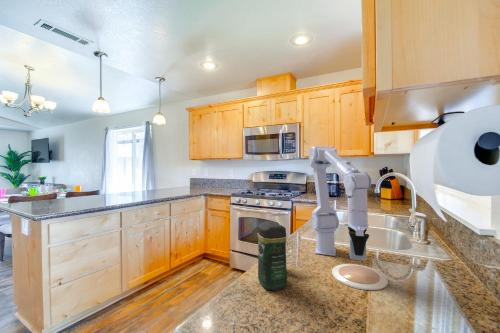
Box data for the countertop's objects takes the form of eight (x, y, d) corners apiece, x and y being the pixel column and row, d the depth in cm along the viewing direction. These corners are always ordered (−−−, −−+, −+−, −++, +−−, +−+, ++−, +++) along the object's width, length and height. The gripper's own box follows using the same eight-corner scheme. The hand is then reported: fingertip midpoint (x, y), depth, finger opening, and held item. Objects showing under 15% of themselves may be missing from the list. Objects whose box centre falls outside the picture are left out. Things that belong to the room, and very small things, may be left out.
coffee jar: (291, 288, 66) (290, 225, 66) (265, 293, 63) (264, 227, 64) (277, 273, 75) (276, 218, 75) (255, 277, 73) (254, 220, 73)
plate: (332, 263, 83) (332, 260, 83) (382, 269, 77) (382, 266, 77) (331, 284, 68) (331, 281, 68) (393, 294, 62) (393, 290, 62)
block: (349, 253, 75) (349, 235, 75) (364, 255, 74) (364, 237, 74) (350, 258, 71) (350, 239, 71) (366, 260, 69) (366, 241, 70)
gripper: (343, 205, 81) (344, 243, 81) (344, 213, 67) (345, 259, 67) (365, 206, 78) (366, 245, 78) (371, 215, 65) (372, 262, 64)
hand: (358, 252), depth 72 cm, fingers closed on block, 4 cm apart
